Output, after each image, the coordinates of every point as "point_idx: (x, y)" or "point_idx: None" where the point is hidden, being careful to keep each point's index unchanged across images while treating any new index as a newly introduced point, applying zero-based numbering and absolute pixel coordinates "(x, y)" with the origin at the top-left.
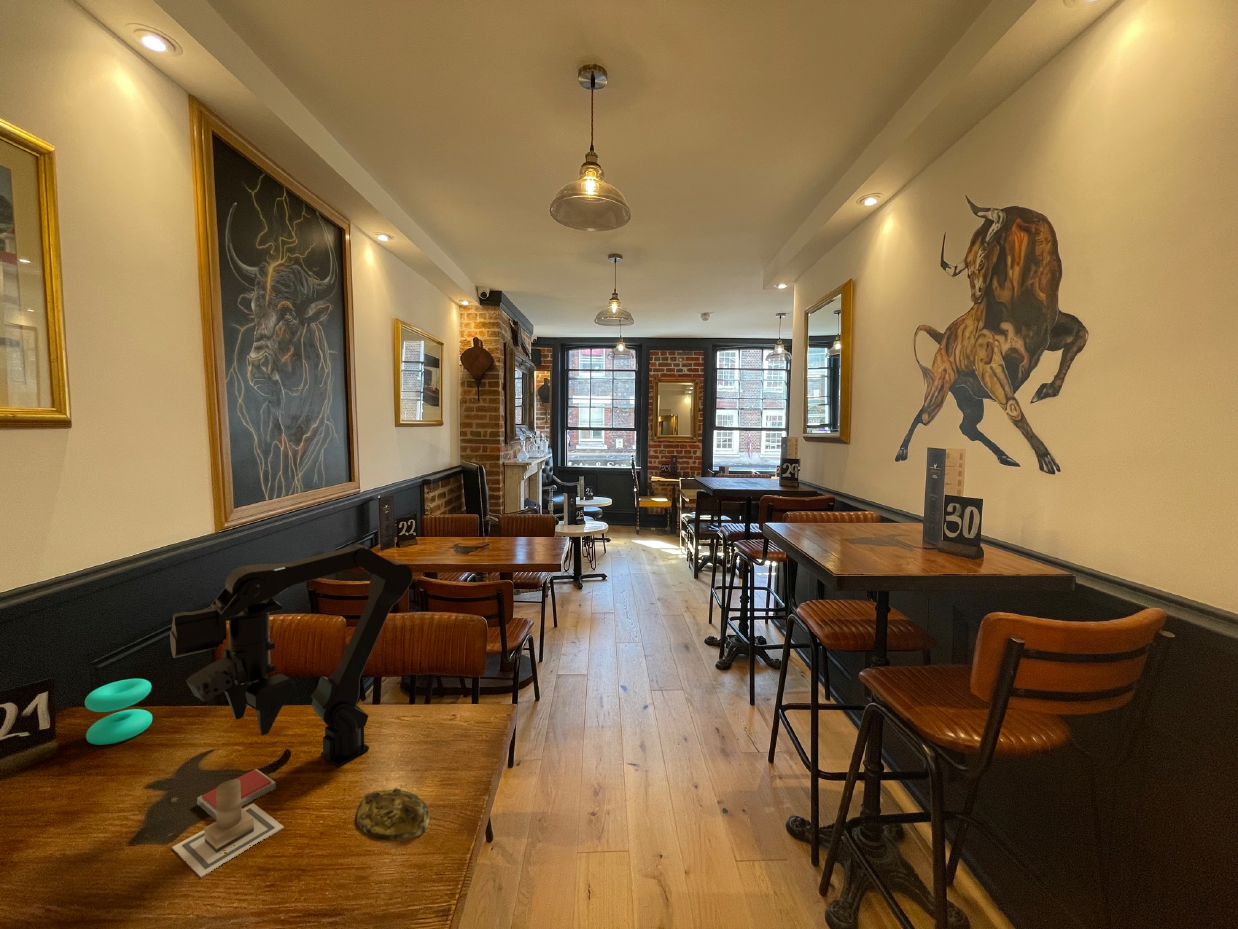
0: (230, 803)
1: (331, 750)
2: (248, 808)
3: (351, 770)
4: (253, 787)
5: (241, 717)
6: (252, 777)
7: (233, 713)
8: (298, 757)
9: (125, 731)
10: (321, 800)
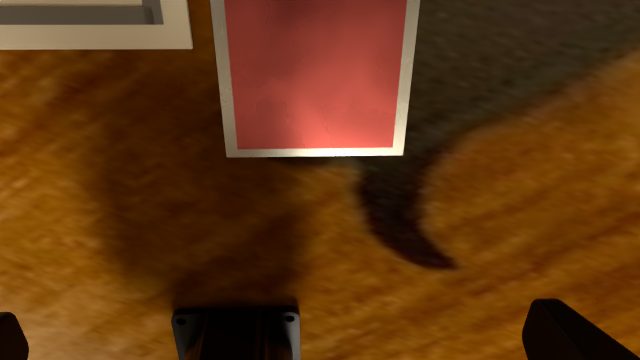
0: None
1: (198, 347)
2: (168, 20)
3: (121, 318)
4: (255, 88)
5: (526, 331)
6: (338, 118)
7: (603, 340)
8: (363, 266)
9: None
10: (10, 200)
